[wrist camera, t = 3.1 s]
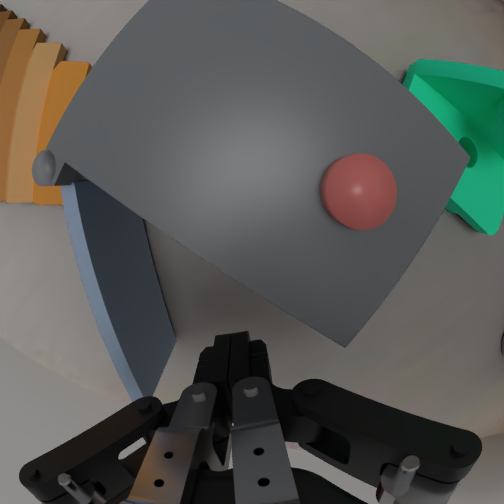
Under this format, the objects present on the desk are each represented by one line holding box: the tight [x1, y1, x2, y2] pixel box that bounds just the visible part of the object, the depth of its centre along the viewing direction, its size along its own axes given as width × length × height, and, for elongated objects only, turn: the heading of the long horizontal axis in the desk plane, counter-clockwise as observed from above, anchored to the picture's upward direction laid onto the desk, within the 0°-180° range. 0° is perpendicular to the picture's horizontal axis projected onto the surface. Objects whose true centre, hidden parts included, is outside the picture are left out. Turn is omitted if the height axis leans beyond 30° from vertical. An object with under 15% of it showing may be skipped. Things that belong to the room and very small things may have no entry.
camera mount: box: [402, 59, 504, 235], centre depth 12 cm, size 12×8×10 cm, turn 63°
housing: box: [32, 0, 470, 348], centre depth 12 cm, size 13×10×11 cm
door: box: [60, 171, 176, 402], centre depth 14 cm, size 12×2×7 cm, turn 11°
